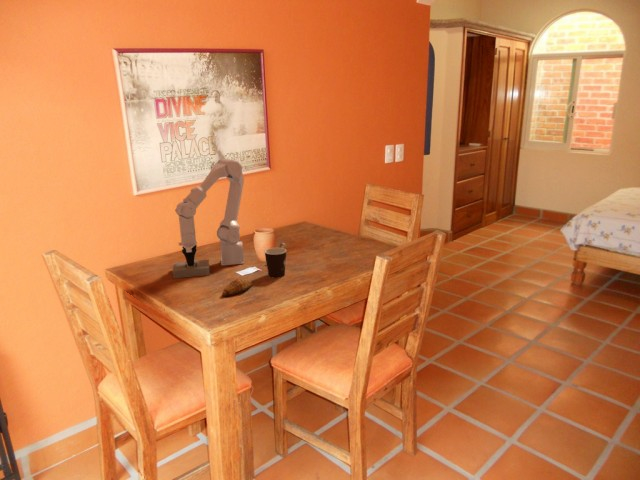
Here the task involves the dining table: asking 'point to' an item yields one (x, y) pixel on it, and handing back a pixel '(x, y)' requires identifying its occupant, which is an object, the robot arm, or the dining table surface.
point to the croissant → (236, 287)
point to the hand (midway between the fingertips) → (191, 264)
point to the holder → (191, 269)
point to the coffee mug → (276, 261)
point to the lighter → (282, 245)
